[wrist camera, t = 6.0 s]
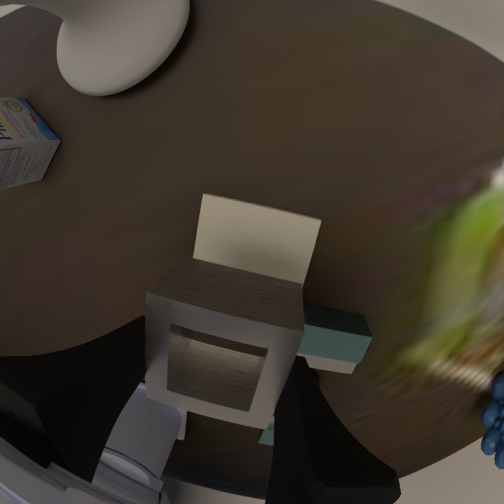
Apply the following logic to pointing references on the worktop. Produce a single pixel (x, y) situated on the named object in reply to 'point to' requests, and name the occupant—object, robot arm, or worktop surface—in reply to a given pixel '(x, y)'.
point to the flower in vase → (113, 39)
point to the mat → (255, 237)
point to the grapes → (494, 423)
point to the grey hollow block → (225, 326)
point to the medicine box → (23, 143)
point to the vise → (328, 346)
